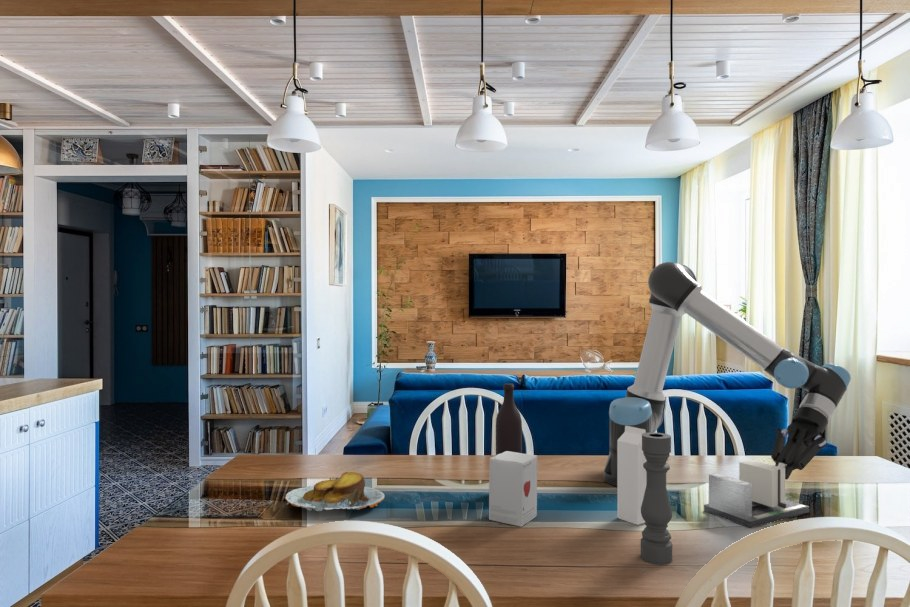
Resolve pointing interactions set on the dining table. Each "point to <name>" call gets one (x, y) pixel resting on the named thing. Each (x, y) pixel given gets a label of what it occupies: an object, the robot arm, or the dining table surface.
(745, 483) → the frame
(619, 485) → the milk
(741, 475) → the block
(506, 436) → the wine bottle
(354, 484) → the food on plate
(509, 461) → the supplement box
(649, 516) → the candle holder
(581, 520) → the dining table surface
